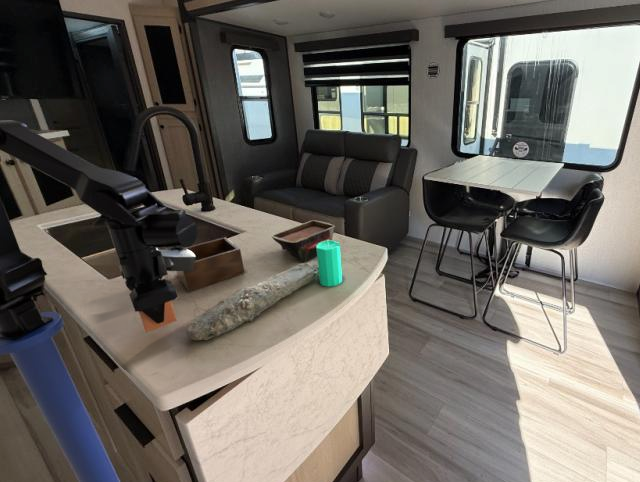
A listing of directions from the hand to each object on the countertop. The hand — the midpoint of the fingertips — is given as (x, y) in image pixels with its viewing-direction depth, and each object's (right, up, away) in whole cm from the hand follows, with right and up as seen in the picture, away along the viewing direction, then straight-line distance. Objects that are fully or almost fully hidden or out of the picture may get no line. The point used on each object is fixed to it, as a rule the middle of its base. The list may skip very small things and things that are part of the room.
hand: (157, 316), depth 64 cm
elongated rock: (+17, 0, +12) cm, 21 cm away
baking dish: (+19, +9, +38) cm, 43 cm away
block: (0, -1, 0) cm, 1 cm away
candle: (+31, +3, +21) cm, 37 cm away
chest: (-3, +5, +24) cm, 24 cm away
